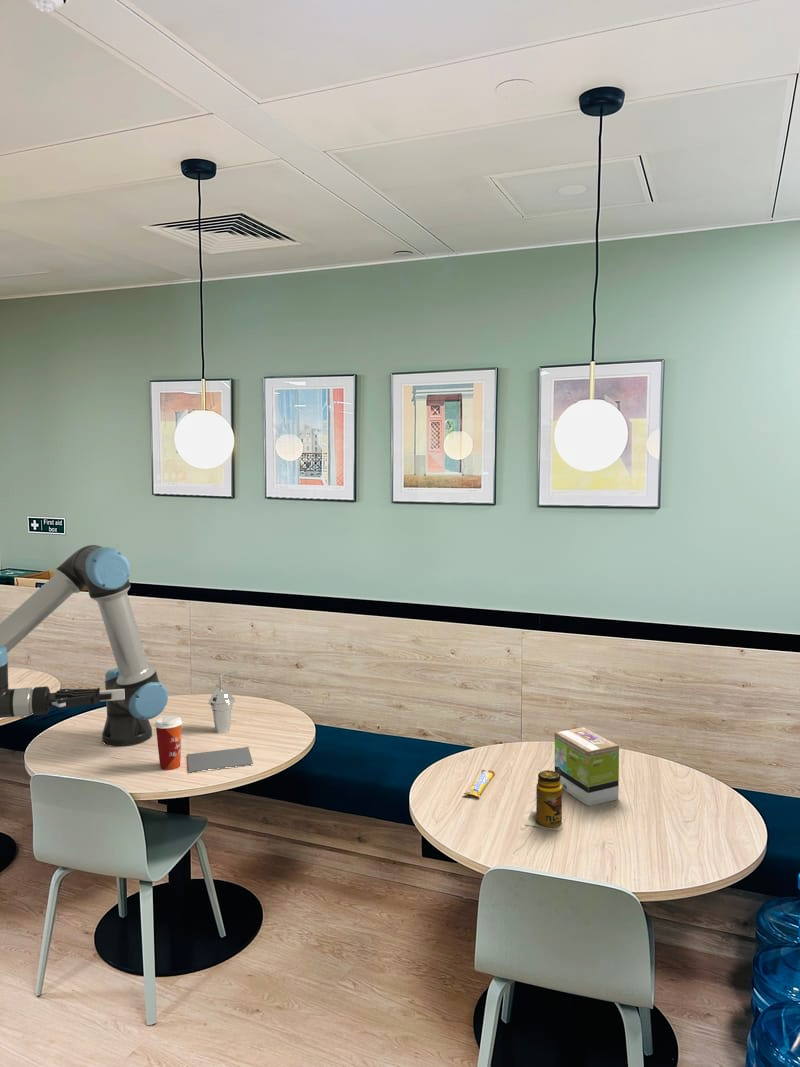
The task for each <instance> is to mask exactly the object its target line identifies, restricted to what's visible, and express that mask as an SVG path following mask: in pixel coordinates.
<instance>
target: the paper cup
mask: <svg viewBox="0 0 800 1067" xmlns="http://www.w3.org/2000/svg"><path fill="white" fill-rule="evenodd" d="M182 724H183V721H182V719H181V717H180V716H177V715H165V716H161V717H158V718H157V719H156V721H155V724H154V727H155V732H156V741H157V749H158V751H157V752H158V758H159V759H158V760H159V767H160V769H161V770H162V771H172V770H176V769H178V768H180V767H181V760H182V759H181V758H182V757H181V754H182V752H181V751H182V749H181V748H182Z"/></svg>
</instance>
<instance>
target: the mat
mask: <svg viewBox="0 0 800 1067" xmlns="http://www.w3.org/2000/svg"><path fill="white" fill-rule="evenodd" d="M187 764H188V765H187V766H188V774H193V773H192V772H195V773H198V772H197V771H202V770H208V769H217V768H225V767H234V768H236V767H235V766H242V767H246V766H245V765H250V766H252V765H251V764H253V765H254V762H253V758H252V755H251V752H250V748H249V746H246V747H236V748H229V749H220V750H212V751H203V752H195V753H188V754H187Z"/></svg>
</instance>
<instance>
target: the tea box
mask: <svg viewBox="0 0 800 1067" xmlns="http://www.w3.org/2000/svg"><path fill="white" fill-rule="evenodd" d="M619 769H620V744H617V743H615V742H613V741H611V740H609V739H608V738H605V737H604V736H602V735H600V734H598V733H595V732H594V731H593V730H590V729H588V728H587V727H584V726H582V727H577V728H573V729H568V730H567V729H566V730H561V731H557V732H556V731H555V732H554V771H555V772H557V773H559V775H560V781H561V783H560V784H561V786H562V790H564V791H565V792H566V793H569V795H571V796H573V797H574V798H575V799H577V800H578V801H580V802H582V804H585V805H586V806H587V807H590V806H591V807H592V806H595V805H599V804H603V803H607V802H612V801H615V800H619V790H620V788H619V781H620V780H619V779H620V778H619V777H620V776H619V775H620V770H619Z"/></svg>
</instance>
